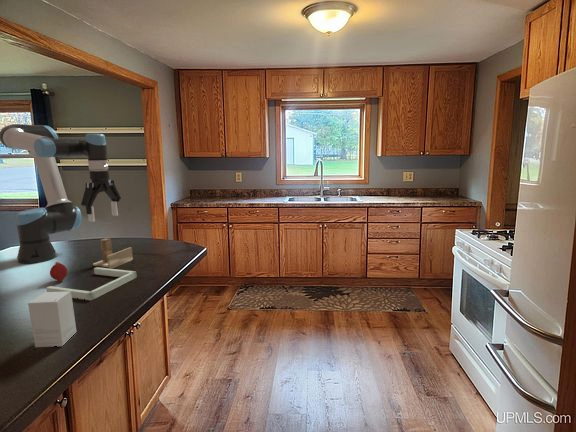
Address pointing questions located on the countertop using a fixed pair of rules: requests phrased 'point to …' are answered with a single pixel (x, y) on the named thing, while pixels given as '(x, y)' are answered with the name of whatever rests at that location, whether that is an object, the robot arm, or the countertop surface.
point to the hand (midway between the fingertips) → (103, 218)
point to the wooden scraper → (113, 255)
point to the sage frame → (90, 295)
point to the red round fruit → (58, 271)
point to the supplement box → (52, 318)
